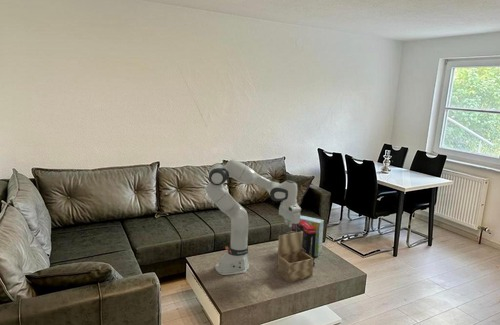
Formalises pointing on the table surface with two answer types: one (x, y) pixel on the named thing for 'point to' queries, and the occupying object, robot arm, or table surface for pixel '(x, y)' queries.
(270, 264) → the table surface
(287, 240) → the carton lid
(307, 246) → the graphics card box
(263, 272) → the table surface
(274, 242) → the table surface
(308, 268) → the carton
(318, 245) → the snack box
